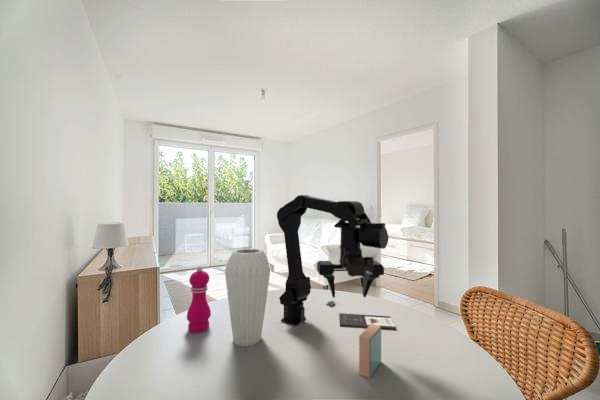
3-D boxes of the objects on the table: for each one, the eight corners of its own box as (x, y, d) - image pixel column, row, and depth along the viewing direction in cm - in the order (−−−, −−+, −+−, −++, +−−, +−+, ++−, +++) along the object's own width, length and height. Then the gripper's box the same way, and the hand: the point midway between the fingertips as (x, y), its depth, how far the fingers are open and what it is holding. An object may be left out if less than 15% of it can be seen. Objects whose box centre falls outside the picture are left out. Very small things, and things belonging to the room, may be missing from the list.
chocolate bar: (339, 313, 94) (390, 316, 92) (339, 315, 94) (390, 319, 92) (339, 324, 85) (396, 328, 83) (339, 327, 85) (396, 331, 83)
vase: (215, 339, 76) (216, 250, 77) (252, 324, 86) (253, 245, 86) (239, 358, 67) (241, 257, 67) (278, 339, 76) (279, 251, 77)
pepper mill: (191, 336, 78) (192, 270, 78) (183, 327, 83) (184, 266, 84) (214, 329, 83) (215, 266, 83) (205, 321, 88) (206, 262, 88)
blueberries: (339, 303, 107) (339, 298, 108) (342, 309, 99) (342, 304, 100) (323, 303, 107) (323, 298, 108) (325, 309, 99) (324, 304, 100)
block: (359, 374, 61) (359, 335, 61) (371, 357, 68) (371, 323, 68) (370, 378, 60) (370, 339, 60) (381, 361, 66) (381, 326, 66)
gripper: (324, 249, 66) (322, 309, 66) (393, 249, 68) (392, 308, 68) (317, 241, 77) (315, 293, 77) (377, 242, 79) (375, 293, 79)
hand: (349, 297), depth 75 cm, fingers open, 9 cm apart
